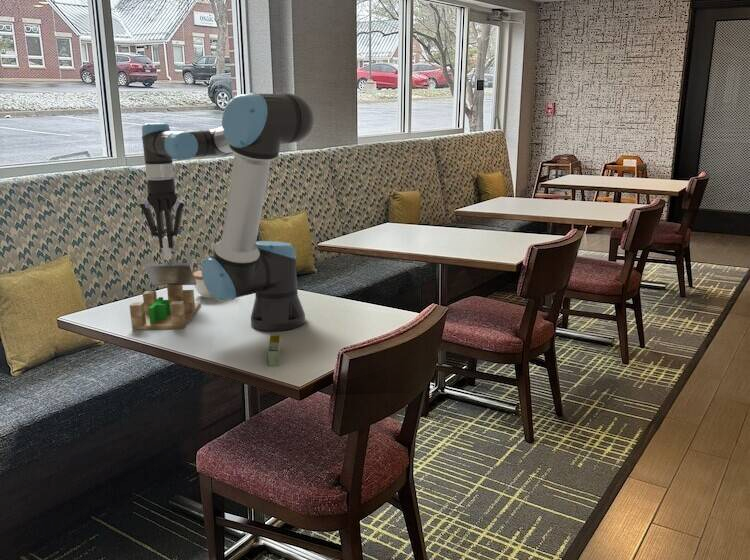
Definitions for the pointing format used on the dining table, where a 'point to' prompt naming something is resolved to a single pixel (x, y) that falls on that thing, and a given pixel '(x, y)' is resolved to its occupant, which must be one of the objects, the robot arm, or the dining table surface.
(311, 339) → the dining table surface
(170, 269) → the plate
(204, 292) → the lidded jar
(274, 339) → the medication box
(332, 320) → the dining table surface
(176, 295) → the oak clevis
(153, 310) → the pipe clamp
